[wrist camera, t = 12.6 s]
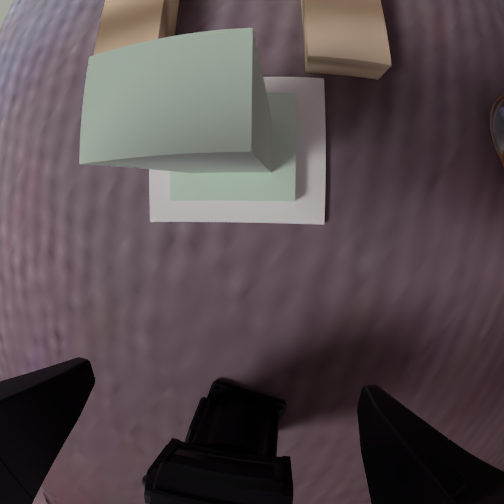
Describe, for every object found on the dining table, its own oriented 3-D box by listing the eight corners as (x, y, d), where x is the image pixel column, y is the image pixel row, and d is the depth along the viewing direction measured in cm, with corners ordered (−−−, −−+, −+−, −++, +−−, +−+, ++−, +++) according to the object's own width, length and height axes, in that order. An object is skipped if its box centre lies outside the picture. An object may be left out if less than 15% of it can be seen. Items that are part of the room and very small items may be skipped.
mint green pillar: (294, 200, 19) (313, 226, 7) (175, 200, 20) (47, 224, 8) (294, 97, 18) (307, -17, 6) (177, 101, 19) (64, 27, 6)
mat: (323, 223, 20) (324, 224, 19) (152, 221, 21) (150, 221, 21) (323, 80, 18) (323, 78, 17) (154, 88, 19) (152, 86, 18)
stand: (378, 79, 17) (391, 65, 14) (110, 90, 19) (89, 81, 16) (361, -24, 15) (369, -43, 12) (127, -8, 17) (112, -23, 14)
